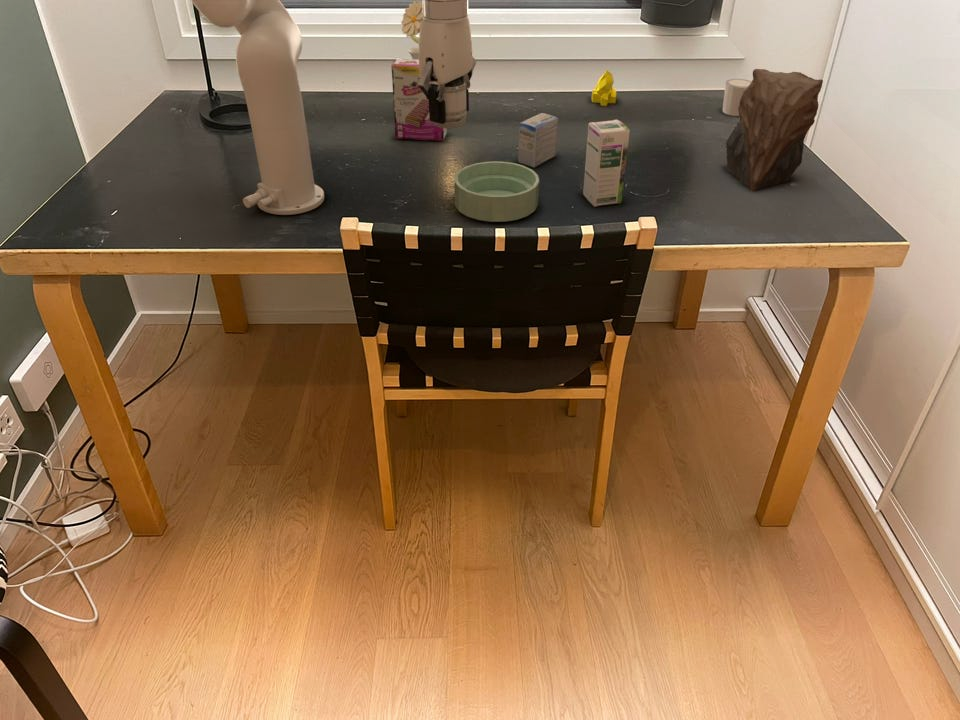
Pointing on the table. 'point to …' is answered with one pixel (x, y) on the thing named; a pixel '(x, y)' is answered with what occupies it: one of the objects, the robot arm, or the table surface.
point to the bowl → (496, 191)
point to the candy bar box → (412, 104)
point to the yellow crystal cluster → (604, 90)
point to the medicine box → (537, 139)
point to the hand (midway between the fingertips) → (449, 115)
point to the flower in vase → (413, 25)
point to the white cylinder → (734, 95)
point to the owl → (772, 127)
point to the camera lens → (454, 103)
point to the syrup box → (605, 162)
